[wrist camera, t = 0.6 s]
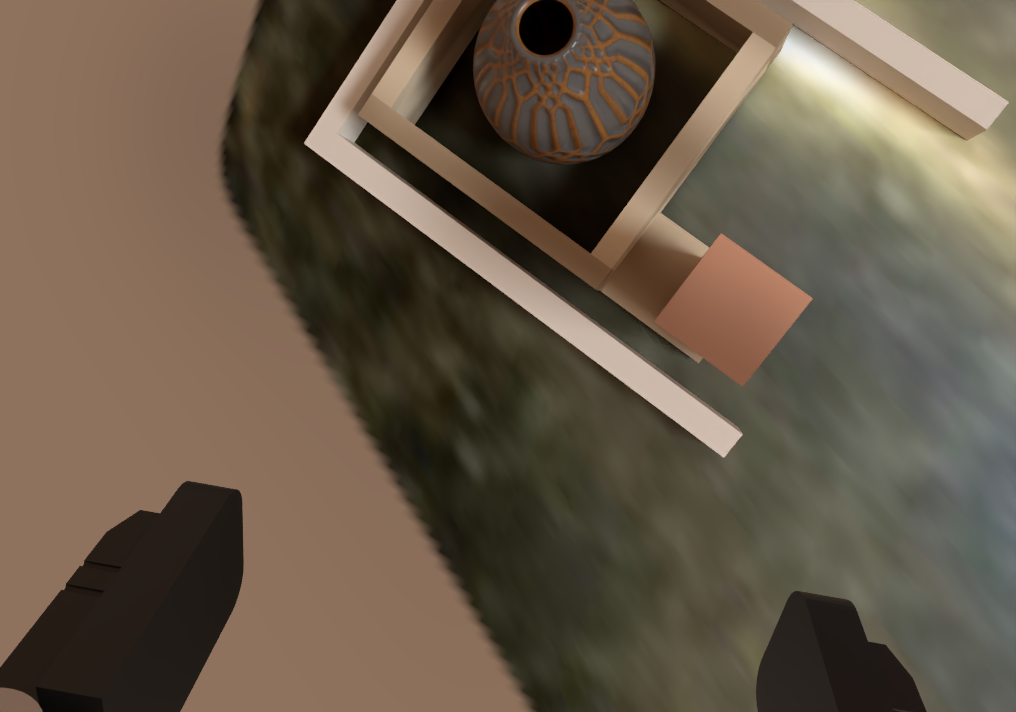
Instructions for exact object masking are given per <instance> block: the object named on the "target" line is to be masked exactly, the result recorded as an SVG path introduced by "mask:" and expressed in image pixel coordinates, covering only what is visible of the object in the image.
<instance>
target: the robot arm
mask: <svg viewBox="0 0 1016 712" xmlns="http://www.w3.org/2000/svg"><path fill="white" fill-rule="evenodd" d="M242 521H243V517H242V497H241V493H240V491H238V490H236V489H230V488H224V487H219V486H213V485H208V484H202V483H197V482H190V481H186V482H185V483H183V484H182V485H181V486H180V487H179V488H178V490H177V491H176V492H175V494H174V495H173V497H172V498H171V499H170V501H169V502H168V503H167V505H166V506H165V508H164V509H163V510H162V512H161V513H154V512H148V511H143V510H140V511H138V512H137V513H135V514H134V515H132V516H130V517H129V518H127V519H126V520H124V521H123V522H121V523H120V524H118V525H117V526H115V527H114V528H112V529H111V530H109V531H107V532H106V534H105V535H104V536H103V538H102V539H101V540H100V541H99V543H98V544H97V545H96V546H95V548H94V549H93V550H92V551H91V553H90V554H89V555H88V556H87V558H86V559H85V561H84V565H83V566H80V567H79V568H78V569H77V570H76V572H75V573H74V574H73V576H72V577H71V578H70V580H69V581H68V582H67V583H66V588H65V589H64V590H61V591H60V592H59V593H58V595H57V596H56V597H55V599H54V600H53V601H52V602H51V604H50V605H49V606H48V607H47V609H46V610H45V611H44V613H43V614H42V615H41V616H40V618H39V619H38V620H37V622H36V623H35V624H34V625H33V627H32V628H31V629H30V630H29V632H28V633H27V634H26V636H25V637H24V638H23V639H22V641H21V642H20V643H19V644H18V646H17V647H16V649H14V651H13V652H12V653H11V655H10V656H9V657H8V658H7V660H6V661H5V662H4V664H3V665H2V666H1V667H0V712H180V711H181V709H182V707H183V705H184V703H185V701H186V699H187V697H188V696H189V694H190V692H191V690H192V688H193V686H194V684H195V682H196V680H197V678H198V676H199V674H200V672H201V671H202V669H203V667H204V665H205V663H206V661H207V659H208V657H209V655H210V653H211V651H212V649H213V647H214V645H215V644H216V642H217V640H218V638H219V635H220V634H221V632H222V630H223V628H224V626H225V624H226V622H227V620H228V619H229V617H230V615H231V613H232V611H233V608H234V606H235V604H236V601H237V598H238V595H239V591H240V587H241V582H242V577H243V522H242ZM756 700H757V708H758V712H926V709H925V707H924V704H923V702H922V699H921V697H920V695H919V692H918V690H917V687H916V685H915V682H914V680H913V678H912V677H911V675H910V674H909V673H908V672H907V670H906V669H905V668H904V667H903V666H902V664H901V663H900V662H899V661H898V659H897V658H896V657H895V656H894V655H893V653H892V652H891V651H890V650H889V648H888V647H887V646H886V645H884V644H878V643H873V642H868V640H867V638H866V635H865V632H864V629H863V627H862V624H861V621H860V619H859V616H858V613H857V611H856V608H855V606H854V605H853V603H852V602H851V601H849V600H846V599H840V598H834V597H829V596H823V595H817V594H812V593H806V592H800V591H795V592H793V593H792V594H791V595H790V597H789V598H788V600H787V602H786V605H785V607H784V609H783V612H782V614H781V616H780V619H779V621H778V623H777V626H776V628H775V630H774V632H773V635H772V637H771V639H770V642H769V644H768V646H767V649H766V651H765V653H764V656H763V658H762V660H761V663H760V666H759V671H758V676H757V685H756Z"/></svg>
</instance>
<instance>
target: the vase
mask: <svg viewBox="0 0 1016 712" xmlns="http://www.w3.org/2000/svg"><path fill="white" fill-rule="evenodd" d="M473 75H474V84H475V89H476V93H477V97H478V100H479V103H480V106H481V108H482V110H483V112H484V114H485V116H486V118H487V120H488V121H489V123H490V124H491V125H492V127H493V128H494V130H495V131H496V132H497V133H498V134H499V135H500V137H501V138H502V139H503V140H505V141H506V142H507V143H508V144H509V145H510V146H512V147H513V148H514V149H516V150H517V151H519V152H521V153H522V154H524V155H526V156H528V157H530V158H533V159H535V160H538V161H541V162H545V163H549V164H558V165H570V164H578V163H583V162H587V161H590V160H593V159H596V158H598V157H601V156H603V155H605V154H606V153H608V152H610V151H611V150H613V149H614V148H616V147H617V146H618V145H620V144H621V143H622V142H623V141H624V140H625V139H626V138H627V137H628V136H629V135H630V134H631V133H632V132H633V130H634V129H635V128H636V126H637V125H638V124H639V122H640V120H641V119H642V117H643V115H644V113H645V111H646V109H647V106H648V104H649V101H650V98H651V94H652V90H653V85H654V78H655V53H654V46H653V41H652V37H651V34H650V31H649V28H648V26H647V24H646V21H645V19H644V18H643V16H642V14H641V12H640V11H639V9H638V8H637V6H636V5H635V4H634V2H633V1H632V0H497V1H496V2H495V3H494V5H493V6H492V7H491V9H490V10H489V12H488V14H487V15H486V17H485V19H484V21H483V23H482V26H481V28H480V31H479V34H478V37H477V41H476V45H475V51H474V59H473Z"/></svg>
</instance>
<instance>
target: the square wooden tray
mask: <svg viewBox="0 0 1016 712" xmlns="http://www.w3.org/2000/svg"><path fill="white" fill-rule="evenodd" d="M496 1H497V0H433V1H432V3H431V4H430V6H429V7H428V9H427V10H426V12H425V13H424V15H423V16H422V18H421V19H420V21H419V22H418V24H417V25H416V27H415V28H414V30H413V31H412V33H411V34H410V36H409V38H408V39H407V41H406V42H405V44H404V45H403V47H402V48H401V50H400V51H399V53H398V54H397V56H396V57H395V59H394V60H393V62H392V63H391V65H390V66H389V68H388V70H387V71H386V73H385V74H384V76H383V77H382V79H381V80H380V82H379V83H378V85H377V86H376V88H375V89H374V91H373V92H372V94H371V95H370V97H369V98H368V100H367V101H366V103H365V105H364V106H363V108H362V109H361V111H360V112H359V114H358V115H359V116H360V117H362V118H363V119H364V120H366V121H367V122H369V123H370V124H371V125H373V126H374V127H375V128H377V129H378V130H379V131H381V132H382V133H383V134H385V135H386V136H388V137H389V138H390V139H392V140H393V141H394V142H396V143H397V144H398V145H400V146H401V147H402V148H404V149H405V150H407V151H408V152H409V153H411V154H412V155H413V156H415V157H416V158H417V159H419V160H420V161H422V162H423V163H424V164H426V165H427V166H428V167H430V168H431V169H432V170H434V171H435V172H436V173H438V174H439V175H441V176H442V177H443V178H445V179H446V180H447V181H449V182H450V183H451V184H453V185H454V186H455V187H457V188H458V189H460V190H461V191H462V192H464V193H465V194H466V195H468V196H469V197H470V198H472V199H473V200H475V201H476V202H477V203H479V204H480V205H481V206H483V207H484V208H485V209H487V210H488V211H489V212H491V213H492V214H494V215H495V216H496V217H498V218H499V219H500V220H502V221H503V222H504V223H506V224H507V225H508V226H510V227H511V228H513V229H514V230H515V231H517V232H518V233H519V234H521V235H522V236H523V237H525V238H526V239H527V240H529V241H530V242H532V243H533V244H534V245H536V246H537V247H538V248H540V249H541V250H542V251H544V252H545V253H547V254H548V255H549V256H551V257H552V258H553V259H555V260H556V261H557V262H559V263H560V264H561V265H563V266H564V267H566V268H567V269H568V270H570V271H571V272H572V273H574V274H575V275H576V276H578V277H579V278H580V279H582V280H583V281H585V282H586V283H587V284H589V285H590V286H591V287H593V288H594V289H595V290H598V291H601V292H602V293H604V294H605V295H606V296H608V297H609V298H611V299H612V300H613V301H615V302H616V303H617V304H619V305H620V306H621V307H623V308H624V309H626V310H627V311H628V312H630V313H631V314H632V315H634V316H635V317H636V318H638V319H639V320H640V321H642V322H643V323H645V324H646V325H647V326H649V327H650V328H651V329H653V330H654V331H655V332H657V333H658V334H660V335H661V336H662V337H664V338H665V339H666V340H668V341H669V342H670V343H672V344H673V345H674V346H676V347H677V348H679V349H680V350H681V351H683V352H684V353H685V354H687V355H688V356H689V357H691V358H692V359H693V360H695V361H696V362H698V363H699V362H700V361H701V360H702V358H704V359H705V360H707V361H708V362H710V363H711V364H712V365H714V366H715V367H716V368H718V369H719V370H720V371H722V372H723V373H725V374H726V375H727V376H729V377H730V378H731V379H733V380H734V381H735V382H737V383H738V384H739V385H741V386H742V387H743V386H744V385H745V383H746V382H747V381H748V380H749V378H750V377H751V376H752V375H753V373H754V372H755V371H756V369H757V368H758V367H759V366H760V364H761V363H762V362H763V361H764V359H765V358H766V357H767V356H768V354H769V353H770V352H771V351H772V349H773V348H774V347H775V346H776V344H777V343H778V342H779V340H780V339H781V338H782V337H783V335H784V334H785V333H786V332H787V330H788V329H789V328H790V327H791V325H792V324H793V323H794V322H795V320H796V319H797V318H798V316H799V315H800V314H801V313H802V311H803V310H804V309H805V308H806V306H807V305H808V304H809V303H810V301H811V300H812V299H813V298H811V297H810V296H809V295H807V294H806V293H804V292H803V291H802V290H800V289H799V288H797V287H796V286H795V285H793V284H792V283H790V282H789V281H788V280H786V279H785V278H783V277H782V276H781V275H779V274H778V273H776V272H775V271H773V270H772V269H771V268H769V267H768V266H766V265H765V264H764V263H762V262H761V261H759V260H758V259H757V258H755V257H754V256H752V255H751V254H750V253H748V252H747V251H745V250H744V249H743V248H741V247H740V246H738V245H737V244H735V243H734V242H733V241H731V240H730V239H728V238H727V237H726V236H724V235H723V234H720V235H719V237H718V238H717V239H716V240H715V242H714V243H713V244H712V245H711V247H710V248H709V247H707V246H706V245H705V244H703V243H702V242H700V241H699V240H698V239H696V238H695V237H694V236H692V235H691V234H689V233H688V232H687V231H685V230H684V229H682V228H681V227H680V226H678V225H677V224H675V223H674V222H673V221H671V220H670V219H668V218H667V217H666V216H664V215H663V214H661V211H662V210H663V209H664V207H665V206H666V205H667V203H668V202H669V201H670V199H671V198H672V197H673V195H674V194H675V192H676V191H677V190H678V188H679V187H680V186H681V184H682V183H683V182H684V180H685V179H686V178H687V176H688V175H689V174H690V172H691V171H692V170H693V168H694V167H695V165H696V164H697V163H698V161H699V160H700V159H701V157H702V156H703V155H704V153H705V152H706V151H707V149H708V148H709V147H710V145H711V144H712V143H713V141H714V140H715V139H716V137H717V136H718V134H719V133H720V132H721V130H722V129H723V128H724V126H725V125H726V124H727V122H728V121H729V120H730V118H731V117H732V116H733V114H734V113H735V112H736V110H737V109H738V108H739V106H740V105H741V103H742V102H743V101H744V99H745V98H746V97H747V95H748V94H749V93H750V91H751V90H752V89H753V87H754V86H755V85H756V83H757V82H758V81H759V79H760V78H761V77H762V75H763V74H764V72H765V71H766V70H767V68H768V67H769V66H770V64H771V63H772V62H773V60H774V59H775V58H776V56H777V55H778V54H779V52H780V51H781V49H782V47H783V44H784V42H785V40H786V38H787V36H788V34H789V31H790V29H791V27H792V25H793V24H792V23H791V22H789V21H788V20H786V19H785V18H783V17H782V16H780V15H779V14H777V13H776V12H774V11H773V10H771V9H770V8H768V7H767V6H765V5H764V4H762V3H761V2H759V1H758V0H660V1H661V2H663V3H664V4H666V5H667V6H669V7H670V8H671V9H673V10H674V11H676V12H677V13H679V14H680V15H682V16H683V17H685V18H686V19H688V20H689V21H691V22H692V23H694V24H695V25H697V26H698V27H699V28H701V29H702V30H704V31H705V32H707V33H708V34H710V35H711V36H713V37H714V38H716V39H717V40H719V41H720V42H722V43H723V44H725V45H726V46H727V47H729V48H730V49H732V50H733V51H735V52H736V53H738V54H737V55H736V56H735V58H734V59H733V60H732V62H731V63H730V64H729V66H728V67H727V69H726V70H725V71H724V73H723V74H722V75H721V77H720V78H719V79H718V81H717V82H716V84H715V85H714V86H713V88H712V89H711V90H710V92H709V93H708V94H707V96H706V97H705V99H704V100H703V101H702V103H701V104H700V105H699V107H698V108H697V109H696V111H695V112H694V114H693V115H692V116H691V118H690V119H689V120H688V122H687V123H686V125H685V126H684V127H683V129H682V130H681V131H680V133H679V134H678V135H677V137H676V138H675V140H674V141H673V142H672V144H671V145H670V146H669V148H668V149H667V150H666V152H665V153H664V155H663V156H662V157H661V159H660V160H659V161H658V163H657V164H656V165H655V167H654V168H653V170H652V171H651V172H650V174H649V175H648V176H647V178H646V179H645V180H644V182H643V183H642V185H641V186H640V187H639V189H638V190H637V191H636V193H635V194H634V195H633V197H632V198H631V200H630V201H629V202H628V204H627V205H626V206H625V208H624V209H623V211H622V212H621V213H620V215H619V216H618V217H617V219H616V220H615V221H614V223H613V224H612V226H611V227H610V228H609V230H608V231H607V232H606V234H605V235H604V236H603V238H602V239H601V241H600V242H599V243H598V245H597V246H596V247H595V249H594V250H593V251H592V253H591V254H590V253H589V252H588V251H586V250H585V249H584V248H582V247H581V246H579V245H578V244H577V243H575V242H574V241H573V240H571V239H570V238H568V237H567V236H566V235H564V234H563V233H562V232H560V231H559V230H558V229H556V228H555V227H553V226H552V225H551V224H549V223H548V222H547V221H545V220H544V219H542V218H541V217H540V216H538V215H537V214H536V213H534V212H533V211H531V210H530V209H529V208H527V207H526V206H525V205H523V204H522V203H521V202H519V201H518V200H516V199H515V198H514V197H512V196H511V195H510V194H508V193H507V192H505V191H504V190H503V189H501V188H500V187H499V186H497V185H496V184H495V183H493V182H492V181H490V180H489V179H488V178H486V177H485V176H484V175H482V174H481V173H479V172H478V171H477V170H475V169H474V168H473V167H471V166H470V165H469V164H467V163H466V162H464V161H463V160H462V159H460V158H459V157H458V156H456V155H455V154H453V153H452V152H451V151H449V150H448V149H447V148H445V147H444V146H442V145H441V144H440V143H438V142H437V141H436V140H434V139H433V138H432V137H430V136H429V135H427V134H426V133H425V132H423V131H422V130H421V129H419V128H418V127H416V126H415V124H416V122H417V121H418V119H419V118H420V116H421V115H422V113H423V112H424V110H425V109H426V107H427V106H428V104H429V103H430V101H431V100H432V98H433V97H434V95H435V94H436V92H437V91H438V89H439V88H440V86H441V85H442V83H443V82H444V80H445V79H446V77H447V76H448V74H449V73H450V72H451V70H452V69H453V67H454V66H455V64H456V63H457V61H458V60H459V58H460V57H461V55H462V54H463V52H464V51H465V49H466V48H467V46H468V45H469V43H470V42H471V40H472V39H473V37H474V36H475V34H476V33H477V31H478V30H479V28H480V27H481V25H482V23H483V21H484V19H485V17H486V15H487V14H488V12H489V10H490V9H491V7H492V6H493V5H494V3H495V2H496Z"/></svg>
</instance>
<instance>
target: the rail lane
mask: <svg viewBox="0 0 1016 712" xmlns="http://www.w3.org/2000/svg"><path fill="white" fill-rule="evenodd" d="M432 1H433V0H397V1H396V2H395V4H394V5H393V7H392V8H391V10H390V11H389V13H388V14H387V16H386V18H385V19H384V21H383V22H382V24H381V25H380V27H379V28H378V30H377V31H376V33H375V34H374V36H373V38H372V39H371V41H370V42H369V44H368V45H367V47H366V48H365V50H364V51H363V53H362V54H361V56H360V58H359V59H358V61H357V62H356V64H355V65H354V67H353V68H352V70H351V71H350V73H349V75H348V76H347V78H346V79H345V81H344V82H343V84H342V85H341V87H340V88H339V90H338V91H337V93H336V95H335V96H334V98H333V99H332V101H331V102H330V104H329V105H328V107H327V108H326V110H325V112H324V113H323V115H322V116H321V118H320V119H319V121H318V122H317V124H316V125H315V127H314V128H313V130H312V132H311V133H310V135H309V136H308V138H307V139H306V141H305V142H304V144H305V145H307V146H308V147H309V148H311V149H312V150H313V151H315V152H316V153H317V154H319V155H320V156H321V157H323V158H324V159H325V160H327V161H328V162H329V163H331V164H332V165H333V166H335V167H336V168H337V169H339V170H340V171H341V172H343V173H344V174H345V175H347V176H348V177H349V178H351V179H352V180H353V181H355V182H356V183H357V184H359V185H360V186H361V187H363V188H364V189H365V190H367V191H368V192H369V193H371V194H372V195H373V196H375V197H376V198H377V199H379V200H380V201H381V202H383V203H384V204H385V205H387V206H388V207H389V208H391V209H392V210H393V211H395V212H396V213H397V214H399V215H400V216H401V217H403V218H404V219H405V220H407V221H408V222H409V223H411V224H412V225H413V226H415V227H416V228H418V229H419V230H420V231H422V232H423V233H424V234H426V235H427V236H428V237H430V238H431V239H432V240H434V241H435V242H436V243H438V244H439V245H440V246H442V247H443V248H444V249H446V250H447V251H448V252H450V253H451V254H452V255H454V256H455V257H456V258H458V259H459V260H460V261H462V262H463V263H464V264H466V265H467V266H468V267H470V268H471V269H472V270H474V271H475V272H476V273H478V274H479V275H480V276H482V277H483V278H484V279H486V280H487V281H488V282H490V283H491V284H492V285H494V286H495V287H496V288H498V289H499V290H500V291H502V292H503V293H504V294H506V295H507V296H508V297H510V298H511V299H512V300H514V301H515V302H516V303H518V304H519V305H520V306H522V307H523V308H524V309H526V310H527V311H528V312H530V313H531V314H532V315H534V316H535V317H536V318H538V319H539V320H540V321H542V322H543V323H544V324H546V325H547V326H548V327H550V328H551V329H552V330H554V331H555V332H556V333H558V334H559V335H560V336H562V337H563V338H564V339H566V340H567V341H569V342H570V343H571V344H573V345H574V346H575V347H577V348H578V349H579V350H581V351H582V352H583V353H585V354H586V355H587V356H589V357H590V358H591V359H593V360H594V361H595V362H597V363H598V364H599V365H601V366H602V367H603V368H605V369H606V370H607V371H609V372H610V373H611V374H613V375H614V376H615V377H617V378H618V379H619V380H621V381H622V382H623V383H625V384H626V385H627V386H629V387H630V388H631V389H633V390H634V391H635V392H637V393H638V394H639V395H641V396H642V397H643V398H645V399H646V400H647V401H649V402H650V403H651V404H653V405H654V406H655V407H657V408H658V409H659V410H661V411H662V412H663V413H665V414H666V415H667V416H669V417H670V418H671V419H673V420H674V421H675V422H677V423H678V424H679V425H681V426H682V427H683V428H685V429H686V430H687V431H689V432H690V433H691V434H693V435H694V436H695V437H697V438H698V439H699V440H701V441H702V442H703V443H705V444H706V445H707V446H709V447H710V448H711V449H713V450H714V451H716V452H717V453H718V454H720V455H721V456H722V457H725V456H726V455H727V453H728V452H729V451H730V450H731V448H732V447H733V446H734V445H735V443H736V442H737V441H738V440H739V438H740V437H741V436H742V435H743V434H742V432H741V431H740V429H739V428H738V427H737V426H736V425H735V424H733V423H732V422H731V421H729V420H728V419H727V418H725V417H724V416H723V415H721V414H720V413H718V412H717V411H716V410H714V409H713V408H712V407H710V406H709V405H708V404H706V403H705V402H704V401H702V400H701V399H700V398H698V397H697V396H696V395H694V394H693V393H691V392H690V391H689V390H687V389H686V388H685V387H683V386H682V385H681V384H679V383H678V382H677V381H675V380H674V379H673V378H671V377H670V376H669V375H667V374H666V373H665V372H663V371H662V370H660V369H659V368H658V367H656V366H655V365H654V364H652V363H651V362H650V361H648V360H647V359H646V358H644V357H643V356H642V355H640V354H639V353H638V352H636V351H635V350H633V349H632V348H631V347H629V346H628V345H627V344H625V343H624V342H623V341H621V340H620V339H619V338H617V337H616V336H615V335H613V334H612V333H611V332H609V331H608V330H607V329H605V328H604V327H602V326H601V325H600V324H598V323H597V322H596V321H594V320H593V319H592V318H590V317H589V316H588V315H586V314H585V313H584V312H582V311H581V310H580V309H578V308H577V307H575V306H574V305H573V304H571V303H570V302H569V301H567V300H566V299H565V298H563V297H562V296H561V295H559V294H558V293H557V292H555V291H554V290H553V289H551V288H550V287H549V286H547V285H546V284H544V283H543V282H542V281H540V280H539V279H538V278H536V277H535V276H534V275H532V274H531V273H530V272H528V271H527V270H526V269H524V268H523V267H522V266H520V265H519V264H517V263H516V262H515V261H513V260H512V259H511V258H509V257H508V256H507V255H505V254H504V253H503V252H501V251H500V250H499V249H497V248H496V247H495V246H493V245H492V244H491V243H489V242H488V241H486V240H485V239H484V238H482V237H481V236H480V235H478V234H477V233H476V232H474V231H473V230H472V229H470V228H469V227H468V226H466V225H465V224H464V223H462V222H461V221H459V220H458V219H457V218H455V217H454V216H453V215H451V214H450V213H449V212H447V211H446V210H445V209H443V208H442V207H441V206H439V205H438V204H437V203H435V202H434V201H433V200H431V199H430V198H428V197H427V196H426V195H424V194H423V193H422V192H420V191H419V190H418V189H416V188H415V187H414V186H412V185H411V184H410V183H408V182H407V181H406V180H404V179H403V178H401V177H400V176H399V175H397V174H396V173H395V172H393V171H392V170H391V169H389V168H388V167H387V166H385V165H384V164H383V163H381V162H380V161H379V160H377V159H376V158H374V157H373V156H372V155H370V154H369V153H368V152H366V151H365V150H364V149H362V148H361V147H360V146H358V145H357V144H356V143H354V142H355V141H356V139H357V138H358V136H359V135H360V133H361V132H362V130H363V129H364V127H365V126H366V124H367V121H366V120H364V119H363V118H362V117H360V116H359V115H358V114H359V112H360V111H361V109H362V108H363V106H364V105H365V103H366V101H367V100H368V98H369V97H370V95H371V94H372V92H373V91H374V89H375V88H376V86H377V85H378V83H379V82H380V80H381V79H382V77H383V76H384V74H385V73H386V71H387V70H388V68H389V66H390V65H391V63H392V62H393V60H394V59H395V57H396V56H397V54H398V53H399V51H400V50H401V48H402V47H403V45H404V44H405V42H406V41H407V39H408V38H409V36H410V34H411V33H412V31H413V30H414V28H415V27H416V25H417V24H418V22H419V21H420V19H421V18H422V16H423V15H424V13H425V12H426V10H427V9H428V7H429V6H430V4H431V3H432ZM758 1H759V2H761V3H762V4H764V5H765V6H767V7H768V8H770V9H771V10H773V11H774V12H776V13H777V14H779V15H780V16H782V17H783V18H785V19H786V20H788V21H789V22H791V23H792V24H793V25H795V26H796V27H798V28H799V29H801V30H802V31H804V32H805V33H807V34H808V35H810V36H811V37H813V38H814V39H816V40H817V41H819V42H820V43H822V44H823V45H825V46H826V47H828V48H829V49H831V50H832V51H834V52H835V53H837V54H838V55H840V56H841V57H843V58H844V59H846V60H847V61H849V62H850V63H852V64H853V65H855V66H856V67H858V68H859V69H861V70H862V71H864V72H865V73H867V74H868V75H870V76H871V77H873V78H874V79H876V80H877V81H879V82H880V83H882V84H883V85H885V86H886V87H888V88H889V89H891V90H892V91H894V92H895V93H897V94H898V95H900V96H901V97H903V98H904V99H906V100H907V101H909V102H910V103H912V104H913V105H915V106H916V107H918V108H919V109H921V110H922V111H924V112H925V113H927V114H928V115H930V116H931V117H933V118H934V119H936V120H937V121H939V122H940V123H942V124H943V125H945V126H946V127H948V128H949V129H951V130H952V131H954V132H955V133H957V134H958V135H960V136H961V137H963V138H964V139H966V140H969V139H971V138H973V137H975V136H976V135H978V134H980V133H982V132H984V131H985V130H987V129H988V128H989V127H990V125H991V124H992V123H993V122H994V120H995V119H996V118H997V117H998V115H999V114H1000V113H1001V112H1002V110H1003V109H1004V108H1005V107H1006V105H1007V104H1008V103H1009V102H1008V101H1006V100H1005V99H1003V98H1002V97H1000V96H999V95H997V94H996V93H994V92H993V91H991V90H990V89H988V88H987V87H985V86H984V85H982V84H981V83H979V82H977V81H976V80H974V79H973V78H971V77H970V76H968V75H967V74H965V73H964V72H962V71H961V70H959V69H958V68H956V67H955V66H953V65H952V64H950V63H949V62H947V61H945V60H944V59H942V58H941V57H939V56H938V55H936V54H935V53H933V52H932V51H930V50H929V49H927V48H926V47H924V46H923V45H921V44H920V43H918V42H917V41H915V40H914V39H912V38H910V37H909V36H907V35H906V34H904V33H903V32H901V31H900V30H898V29H897V28H895V27H894V26H892V25H891V24H889V23H888V22H886V21H885V20H883V19H882V18H880V17H878V16H877V15H875V14H874V13H872V12H871V11H869V10H868V9H866V8H865V7H863V6H862V5H860V4H859V3H857V2H856V1H854V0H758Z"/></svg>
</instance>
